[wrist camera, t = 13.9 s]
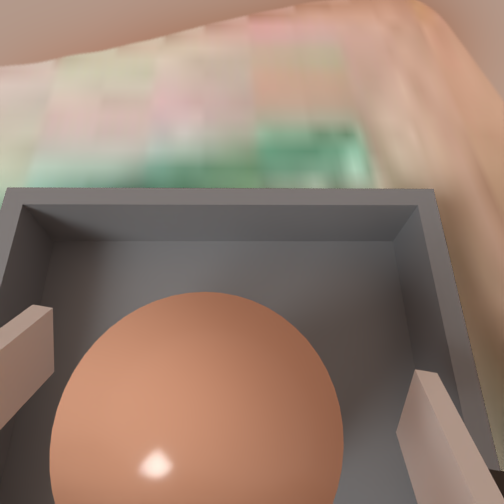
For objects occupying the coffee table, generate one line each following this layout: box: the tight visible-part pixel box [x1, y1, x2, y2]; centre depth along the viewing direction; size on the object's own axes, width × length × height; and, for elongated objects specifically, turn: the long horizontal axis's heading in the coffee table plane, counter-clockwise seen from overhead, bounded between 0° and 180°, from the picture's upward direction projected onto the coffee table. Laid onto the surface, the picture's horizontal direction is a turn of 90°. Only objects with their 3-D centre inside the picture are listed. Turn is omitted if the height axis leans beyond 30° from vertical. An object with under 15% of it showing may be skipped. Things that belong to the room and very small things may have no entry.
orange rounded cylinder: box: [50, 292, 344, 504], centre depth 15 cm, size 6×6×12 cm
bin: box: [0, 188, 500, 504], centre depth 19 cm, size 22×24×5 cm
